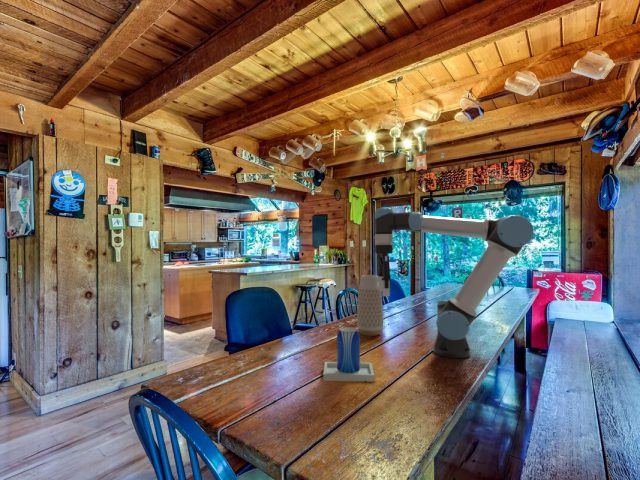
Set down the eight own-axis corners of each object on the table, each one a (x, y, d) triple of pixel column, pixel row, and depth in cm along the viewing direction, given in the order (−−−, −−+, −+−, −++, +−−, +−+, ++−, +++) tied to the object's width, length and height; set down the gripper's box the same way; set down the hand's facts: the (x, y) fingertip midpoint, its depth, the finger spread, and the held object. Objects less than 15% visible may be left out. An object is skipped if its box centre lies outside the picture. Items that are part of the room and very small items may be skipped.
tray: (371, 368, 129) (371, 362, 129) (374, 381, 117) (374, 375, 117) (324, 367, 130) (324, 361, 130) (323, 380, 118) (323, 374, 118)
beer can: (359, 377, 119) (358, 332, 119) (335, 375, 121) (335, 331, 121) (360, 368, 127) (360, 326, 127) (338, 367, 129) (338, 325, 129)
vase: (387, 332, 180) (386, 275, 180) (377, 338, 169) (376, 277, 169) (363, 328, 188) (363, 274, 188) (352, 334, 176) (352, 276, 176)
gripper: (372, 243, 157) (372, 289, 157) (378, 244, 132) (378, 298, 132) (388, 243, 156) (388, 289, 156) (397, 244, 131) (397, 298, 131)
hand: (384, 293), depth 144 cm, fingers open, 13 cm apart
